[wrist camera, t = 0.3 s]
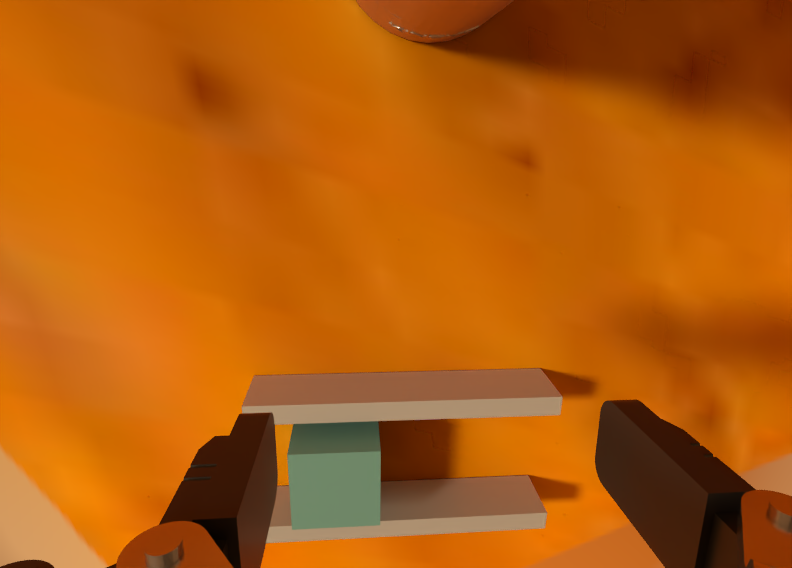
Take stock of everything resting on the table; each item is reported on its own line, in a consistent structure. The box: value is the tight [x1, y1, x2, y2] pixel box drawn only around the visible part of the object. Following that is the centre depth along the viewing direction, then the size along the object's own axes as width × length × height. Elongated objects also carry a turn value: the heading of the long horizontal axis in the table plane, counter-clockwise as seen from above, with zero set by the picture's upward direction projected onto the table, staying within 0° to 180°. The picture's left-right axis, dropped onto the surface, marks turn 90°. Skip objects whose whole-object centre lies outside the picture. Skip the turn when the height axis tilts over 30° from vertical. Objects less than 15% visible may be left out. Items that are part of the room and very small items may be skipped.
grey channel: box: [242, 368, 562, 543], centre depth 31 cm, size 9×18×4 cm, turn 89°
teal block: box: [287, 421, 381, 530], centre depth 30 cm, size 5×5×5 cm
